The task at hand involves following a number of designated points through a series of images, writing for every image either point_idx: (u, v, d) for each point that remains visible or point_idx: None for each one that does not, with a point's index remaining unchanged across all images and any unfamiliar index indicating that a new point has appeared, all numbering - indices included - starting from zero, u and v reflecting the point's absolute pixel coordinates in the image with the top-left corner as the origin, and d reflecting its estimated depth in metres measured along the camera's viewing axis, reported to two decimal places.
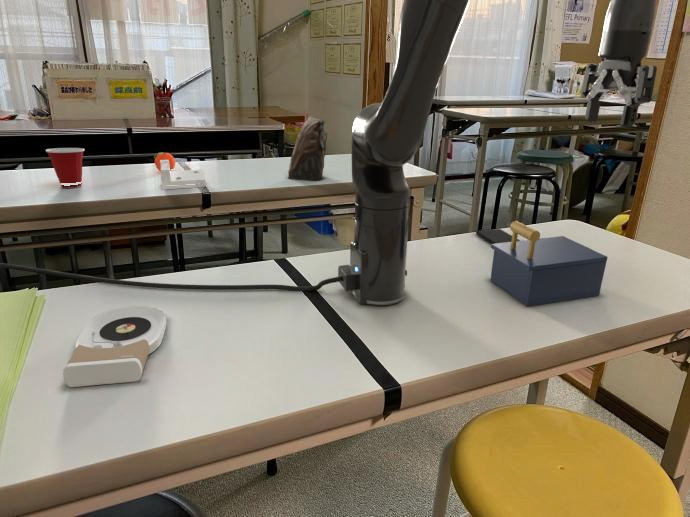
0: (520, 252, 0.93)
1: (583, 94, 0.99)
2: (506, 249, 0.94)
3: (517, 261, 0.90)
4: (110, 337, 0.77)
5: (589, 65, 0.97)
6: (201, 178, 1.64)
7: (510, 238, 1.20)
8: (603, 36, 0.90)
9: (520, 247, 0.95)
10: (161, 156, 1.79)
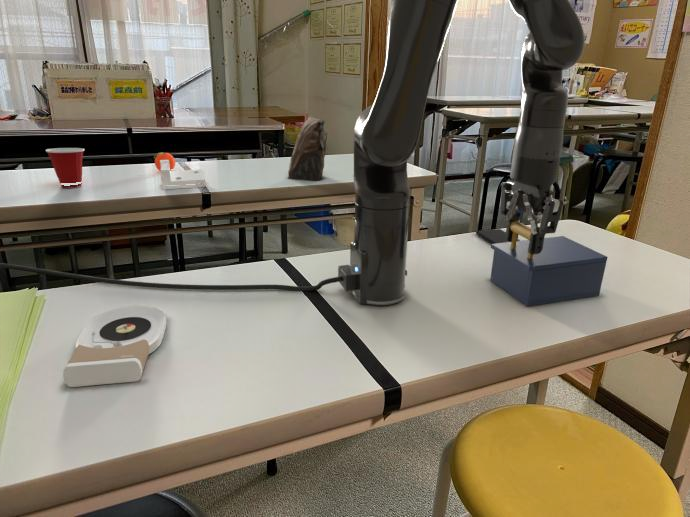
0: (520, 252, 0.93)
1: (502, 213, 0.94)
2: (506, 249, 0.94)
3: (517, 261, 0.90)
4: (110, 337, 0.77)
5: (504, 184, 0.93)
6: (201, 178, 1.64)
7: None
8: (512, 160, 0.86)
9: (520, 247, 0.95)
10: (161, 156, 1.79)
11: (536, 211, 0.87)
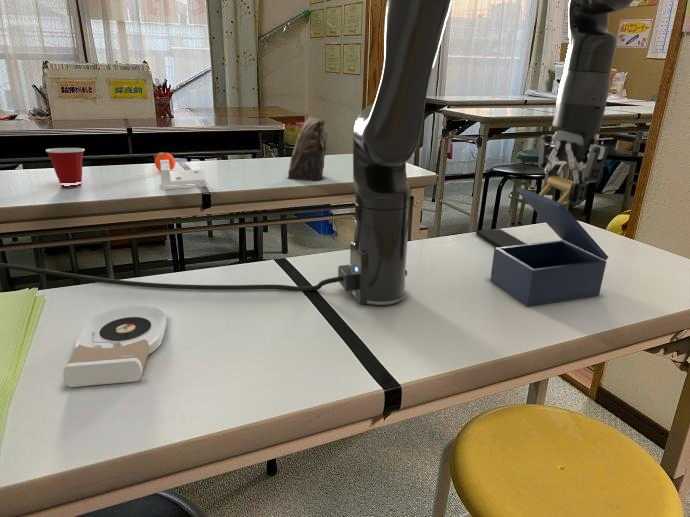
0: None
1: (541, 166, 0.93)
2: None
3: (547, 199, 0.87)
4: (110, 337, 0.77)
5: (543, 136, 0.92)
6: (201, 178, 1.64)
7: (510, 238, 1.20)
8: (556, 107, 0.85)
9: None
10: (161, 156, 1.79)
11: (578, 160, 0.86)
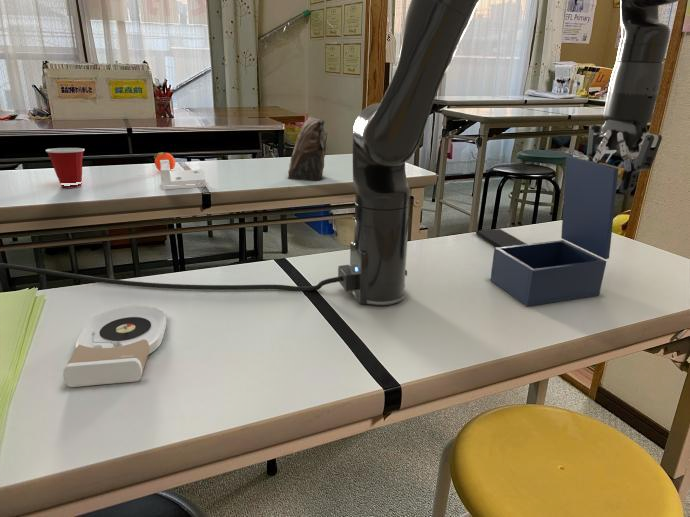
0: None
1: (589, 155, 0.96)
2: None
3: (601, 165, 0.88)
4: (110, 337, 0.77)
5: (592, 126, 0.94)
6: (201, 178, 1.64)
7: (510, 238, 1.20)
8: (608, 98, 0.88)
9: None
10: (161, 156, 1.79)
11: (630, 149, 0.88)
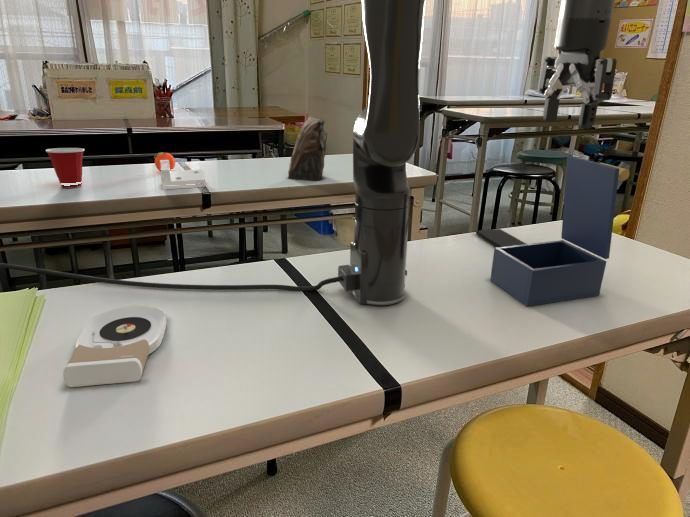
0: None
1: (540, 91, 0.89)
2: None
3: (602, 164, 0.88)
4: (110, 337, 0.77)
5: (546, 59, 0.87)
6: (201, 178, 1.64)
7: (510, 238, 1.20)
8: (558, 26, 0.80)
9: None
10: (161, 156, 1.79)
11: None
